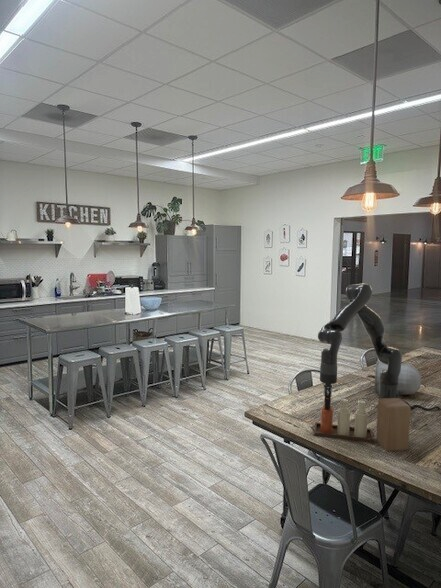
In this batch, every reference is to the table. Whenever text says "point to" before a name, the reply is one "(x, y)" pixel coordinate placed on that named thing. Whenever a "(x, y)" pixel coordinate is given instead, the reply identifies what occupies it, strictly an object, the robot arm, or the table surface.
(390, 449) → the wooden block
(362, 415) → the cream bottle
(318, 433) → the tray
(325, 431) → the terracotta bottle
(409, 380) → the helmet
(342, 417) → the cream bottle
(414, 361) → the table surface
